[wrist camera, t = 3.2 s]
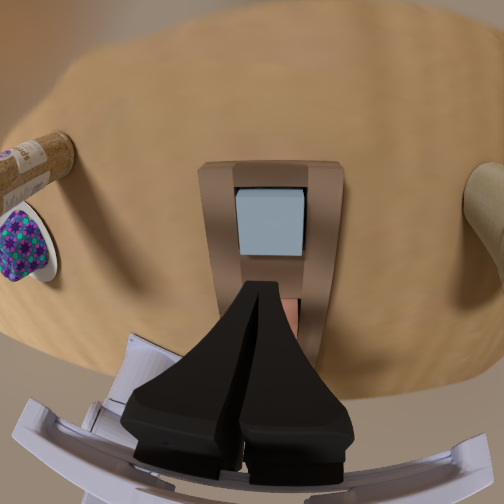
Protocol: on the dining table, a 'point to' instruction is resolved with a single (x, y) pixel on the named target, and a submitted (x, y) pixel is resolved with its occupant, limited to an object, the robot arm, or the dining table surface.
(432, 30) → the dining table surface
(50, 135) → the sprinkles bottle
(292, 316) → the brick key
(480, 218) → the flower pot
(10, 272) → the purple domed brimmed piece
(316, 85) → the dining table surface
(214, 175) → the board
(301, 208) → the blue key
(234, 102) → the dining table surface
